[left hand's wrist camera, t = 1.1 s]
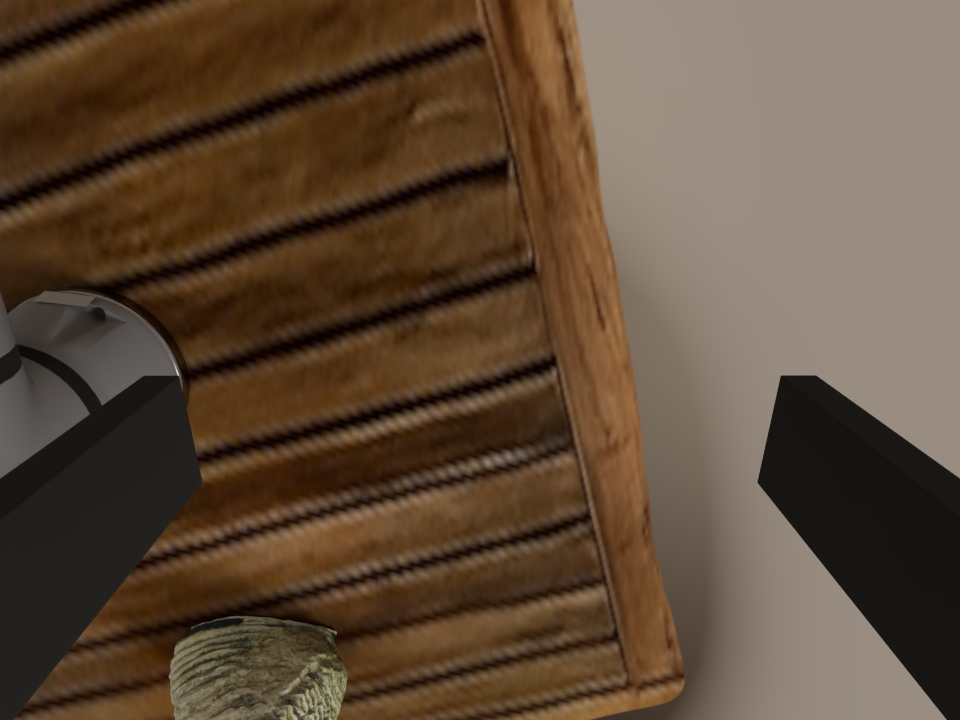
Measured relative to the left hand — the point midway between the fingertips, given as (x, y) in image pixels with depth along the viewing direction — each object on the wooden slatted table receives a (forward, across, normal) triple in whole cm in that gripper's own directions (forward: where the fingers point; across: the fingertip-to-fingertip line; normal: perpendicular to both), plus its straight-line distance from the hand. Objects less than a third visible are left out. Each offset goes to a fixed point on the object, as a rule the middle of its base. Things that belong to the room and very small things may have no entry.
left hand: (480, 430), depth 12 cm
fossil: (+34, +23, +45) cm, 61 cm away
